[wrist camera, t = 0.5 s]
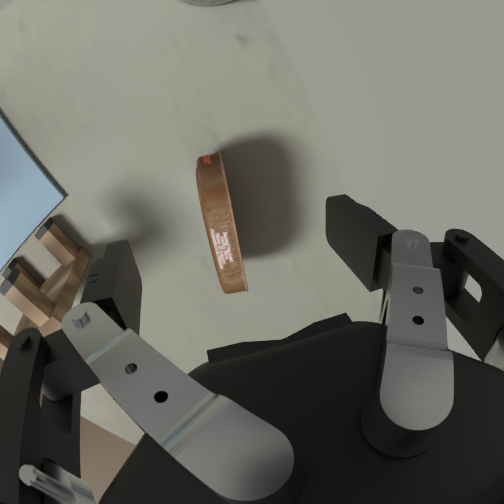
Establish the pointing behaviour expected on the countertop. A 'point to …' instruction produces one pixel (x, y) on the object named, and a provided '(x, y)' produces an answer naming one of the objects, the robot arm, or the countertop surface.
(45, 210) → the mat
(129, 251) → the robot arm
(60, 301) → the wooden board with legs
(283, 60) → the countertop surface
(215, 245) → the tin
